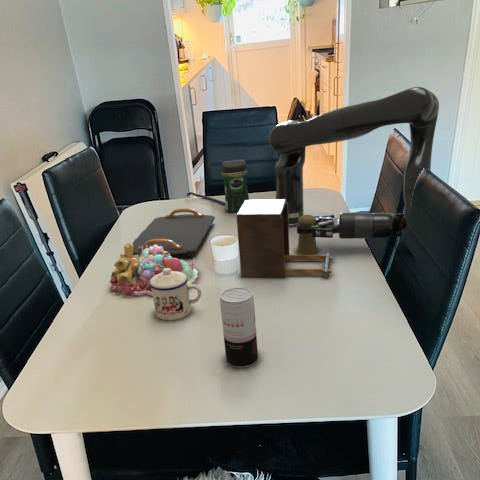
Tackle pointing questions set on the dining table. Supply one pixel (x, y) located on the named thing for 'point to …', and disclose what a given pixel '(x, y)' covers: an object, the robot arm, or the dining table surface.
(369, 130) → the robot arm
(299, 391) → the dining table surface
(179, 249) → the serving tray
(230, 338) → the beverage can
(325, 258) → the drawer
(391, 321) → the dining table surface
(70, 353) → the dining table surface
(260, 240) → the cabinet
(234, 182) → the coffee jar
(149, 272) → the pastel sphere sculpture
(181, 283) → the teacup with lid
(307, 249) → the olive peg doll
